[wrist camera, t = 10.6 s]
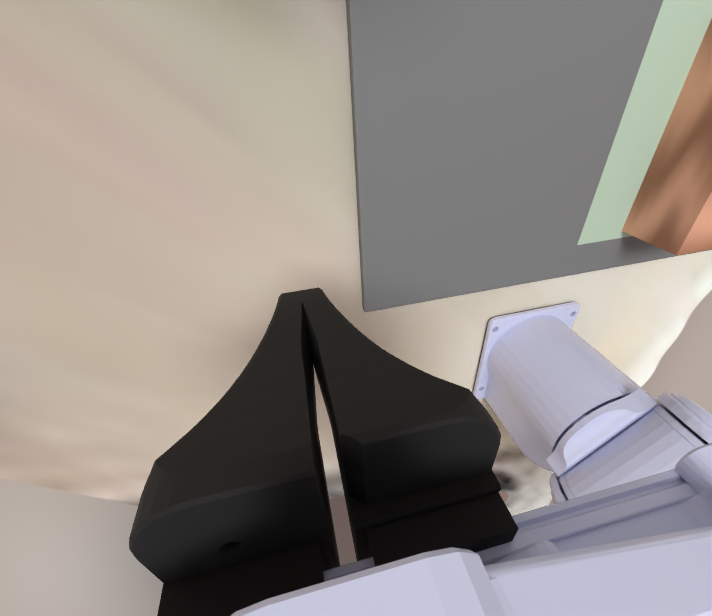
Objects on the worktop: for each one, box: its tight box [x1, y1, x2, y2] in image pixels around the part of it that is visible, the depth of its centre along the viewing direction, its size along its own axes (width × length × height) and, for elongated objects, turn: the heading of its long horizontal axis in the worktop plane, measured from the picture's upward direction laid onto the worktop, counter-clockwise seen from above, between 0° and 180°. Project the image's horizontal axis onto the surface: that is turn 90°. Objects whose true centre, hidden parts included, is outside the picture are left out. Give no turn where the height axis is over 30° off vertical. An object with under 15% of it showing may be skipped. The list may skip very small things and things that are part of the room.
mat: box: [346, 0, 712, 312], centre depth 20 cm, size 18×30×1 cm, turn 93°
